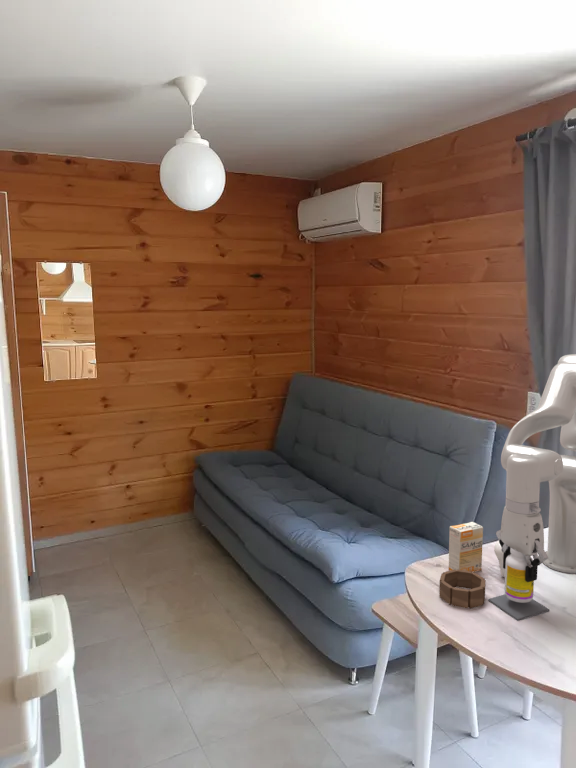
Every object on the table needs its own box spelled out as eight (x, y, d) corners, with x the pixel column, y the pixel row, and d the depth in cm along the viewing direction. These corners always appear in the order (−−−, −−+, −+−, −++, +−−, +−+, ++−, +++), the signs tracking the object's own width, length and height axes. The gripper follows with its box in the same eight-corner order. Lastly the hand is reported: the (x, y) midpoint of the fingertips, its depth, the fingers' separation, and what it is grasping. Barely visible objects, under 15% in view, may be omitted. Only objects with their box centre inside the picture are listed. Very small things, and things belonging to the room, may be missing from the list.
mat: (518, 592, 150) (518, 590, 150) (549, 611, 141) (549, 609, 141) (488, 600, 147) (488, 598, 146) (517, 620, 137) (517, 618, 137)
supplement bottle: (535, 605, 140) (538, 555, 138) (506, 602, 141) (508, 553, 139) (530, 590, 146) (532, 543, 144) (502, 588, 147) (504, 541, 145)
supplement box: (459, 577, 159) (460, 532, 157) (447, 569, 163) (448, 525, 161) (482, 570, 162) (483, 526, 160) (470, 563, 167) (471, 520, 164)
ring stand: (465, 582, 156) (465, 566, 155) (494, 601, 146) (494, 585, 145) (431, 591, 152) (431, 575, 151) (458, 611, 142) (459, 594, 141)
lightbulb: (517, 574, 159) (519, 536, 158) (516, 584, 154) (517, 545, 152) (494, 570, 162) (495, 533, 160) (492, 580, 157) (493, 542, 155)
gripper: (562, 514, 133) (559, 586, 136) (508, 491, 149) (505, 556, 152) (538, 520, 130) (535, 593, 133) (484, 496, 146) (483, 562, 149)
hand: (519, 573), depth 143 cm, fingers closed on supplement bottle, 6 cm apart
